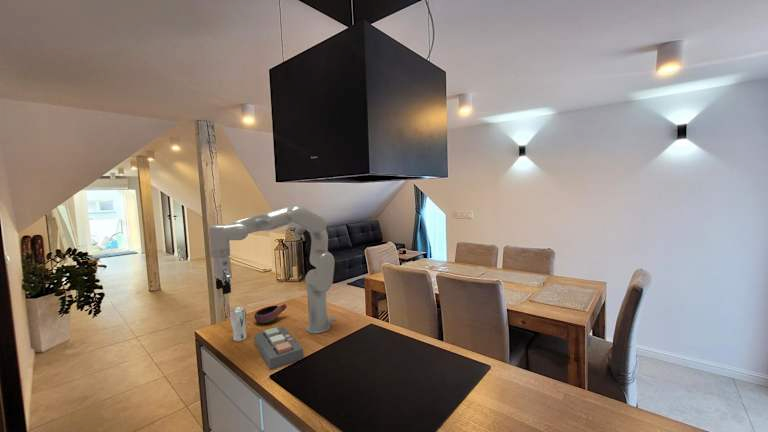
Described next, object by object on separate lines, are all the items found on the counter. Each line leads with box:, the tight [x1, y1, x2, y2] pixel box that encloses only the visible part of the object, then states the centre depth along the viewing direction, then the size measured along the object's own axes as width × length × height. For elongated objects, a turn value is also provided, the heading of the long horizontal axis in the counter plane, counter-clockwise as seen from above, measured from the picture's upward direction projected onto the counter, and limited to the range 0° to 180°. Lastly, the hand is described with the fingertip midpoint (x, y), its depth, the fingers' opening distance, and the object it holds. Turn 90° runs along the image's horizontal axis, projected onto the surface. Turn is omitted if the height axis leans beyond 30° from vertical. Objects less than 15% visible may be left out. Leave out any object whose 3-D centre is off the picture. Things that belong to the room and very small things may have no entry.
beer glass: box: [230, 306, 248, 342], centre depth 157 cm, size 7×7×15 cm
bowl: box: [253, 303, 288, 324], centre depth 178 cm, size 16×13×8 cm
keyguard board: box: [253, 326, 304, 370], centre depth 145 cm, size 14×28×5 cm, turn 34°
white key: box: [269, 334, 285, 346], centre depth 145 cm, size 6×6×3 cm
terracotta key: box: [275, 341, 292, 355], centre depth 137 cm, size 6×6×3 cm
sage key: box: [263, 327, 280, 339], centre depth 152 cm, size 6×6×3 cm
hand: (223, 290), depth 140 cm, fingers open, 9 cm apart
